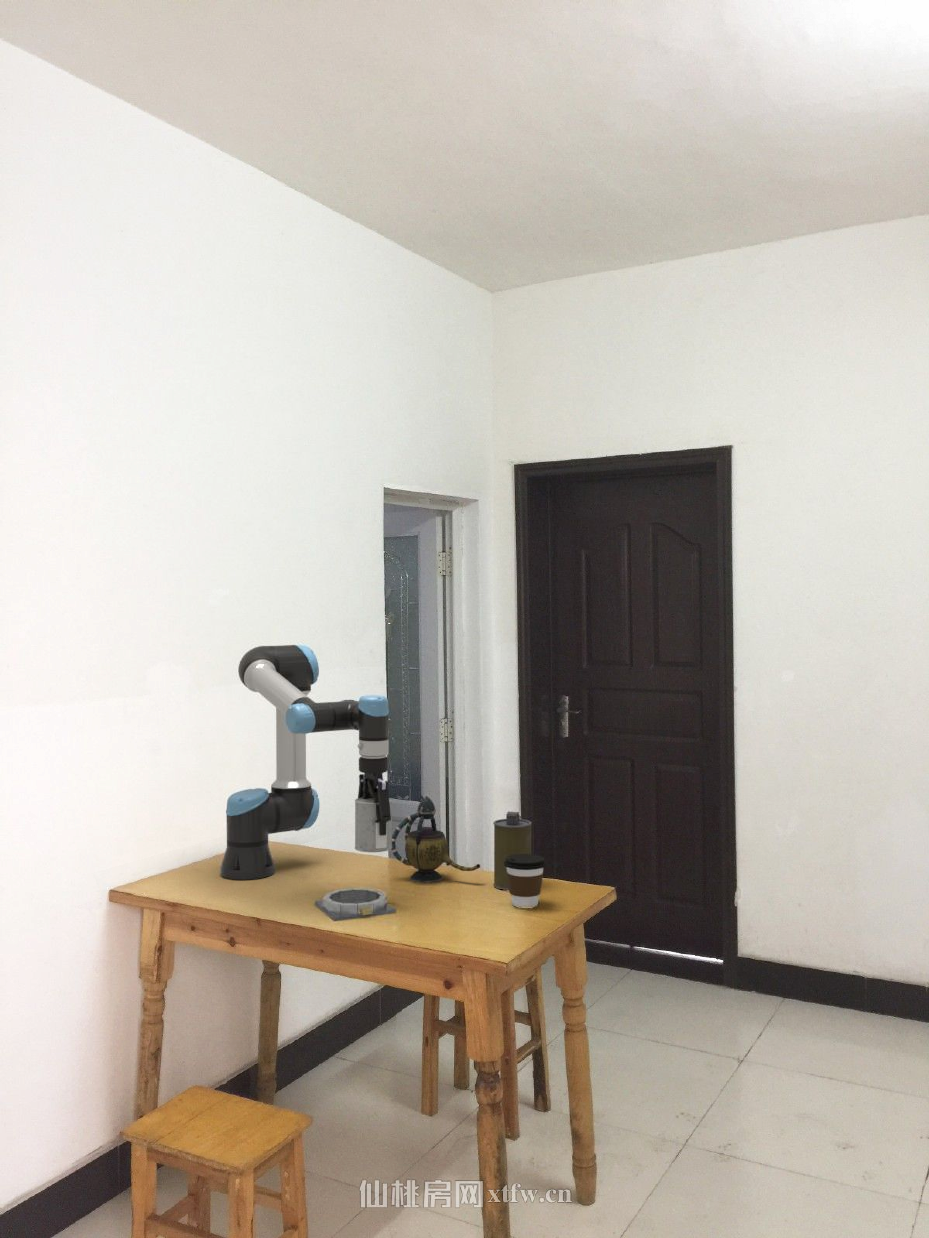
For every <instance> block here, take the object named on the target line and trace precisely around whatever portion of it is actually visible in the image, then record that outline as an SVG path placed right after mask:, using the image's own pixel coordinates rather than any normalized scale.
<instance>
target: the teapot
mask: <svg viewBox="0 0 929 1238" xmlns="http://www.w3.org/2000/svg"><path fill="white" fill-rule="evenodd" d="M420 798H421V800H420V802H419V804H418V807H417V811H416V813H413V814H410V815H408V816H406V817H405V818H404V819H403V820H402V821H400V823H399V824H398V826H397V827H396V828H395V829H394V831H393V832H392V849H391V852H392V854H393V856H394V858H395V859H396V860H398V861H399V862H400V863H402V864H404V865H405V866H408V867H413V868H414V869H416V871H415V872H414V873H413V874H412V875H411V876H410V877H409V878H410V881H411V882H413V883H418V884H434V883H439V882H441V881H442V880H443V879H444V878H443V875H441V873H439V872H438V871H436V869H438V868H440V867H441V866H442V865H443V864H447V865H450V866H451V867H453V868H455V869H457V870H459V871H461V872H473V871H475V870H479V869H481V864H479V863H477V864H475V865H474V866H470V867H469V866H463V865H460V864H458V863H456V862H454V861H453V859H451V858H450V856H449V855H448V853H449V852H448V851H449V846H448V845H449V844H448V839H447V838H446V836H445V833H444V832H443V831H441V830H437V829H438V828H437V824H436V818H435V814H436V806H435V804H434V802H433V801H432V799H431V798H430V797H428V796H427V795H426V796H423V795H420ZM417 819H418V824H417V826H416V827H417V828H416V830H412V831H411V829H412V826H413V823H414V822H415V821H416V820H417ZM424 820H430V823H431V824H430V826H427V825H426V826H423V823H424ZM405 826H406V827H405ZM404 827H405V830H404V839H405V840H404V841H405V844H404V852H405V857H406V858H405V857H402V856H401V855H400V854H399V852H398V850H397V846H396V840H397V837H398V835H399V834H400V832H401V831H402V829H403V828H404Z"/></svg>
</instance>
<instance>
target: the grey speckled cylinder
mask: <svg viewBox="0 0 929 1238" xmlns="http://www.w3.org/2000/svg"><path fill="white" fill-rule="evenodd" d="M389 803H390V814H391V820H390V821H388V822H387V847H386V848H378V849H377V848H376V823H375V821H376V820H377V816H376V803H374V800H373V798H369V799H363V798H358V797H357V798H356V799H355V800H354V809H355V810H354V811H355V812H354V815H355V816H354V819H355V820H354V822H355V823H354V825H355V826H354V832H355V833H354V835H355V836H354V850H356V851H358V852H363V853H382V852H383V853H384V852H388V851H392V835H393V799H392V798H390V797H389ZM377 804H379V803H377Z"/></svg>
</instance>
